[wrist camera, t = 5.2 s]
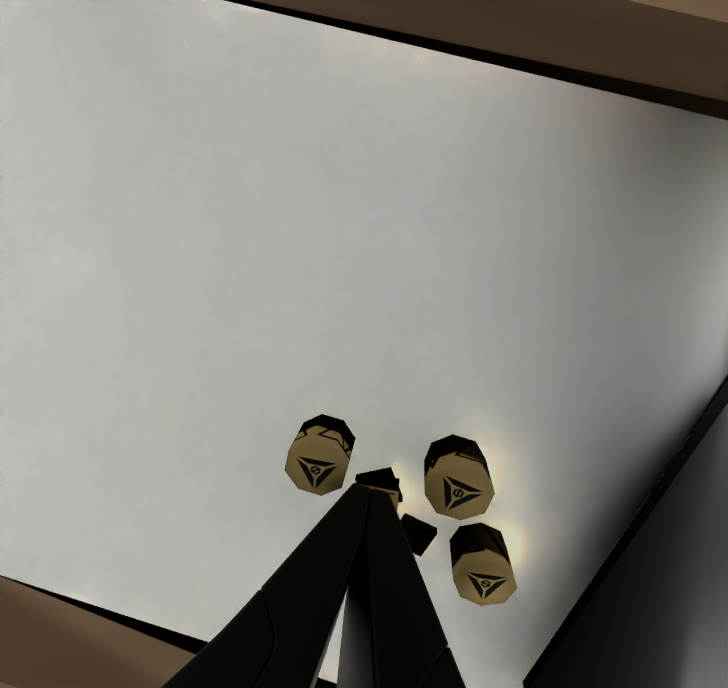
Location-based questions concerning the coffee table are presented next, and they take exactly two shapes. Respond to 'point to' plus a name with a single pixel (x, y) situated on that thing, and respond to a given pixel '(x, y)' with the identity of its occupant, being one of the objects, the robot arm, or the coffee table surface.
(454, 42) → the wooden u-frame
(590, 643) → the mat
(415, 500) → the coffee table surface
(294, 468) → the dice set
